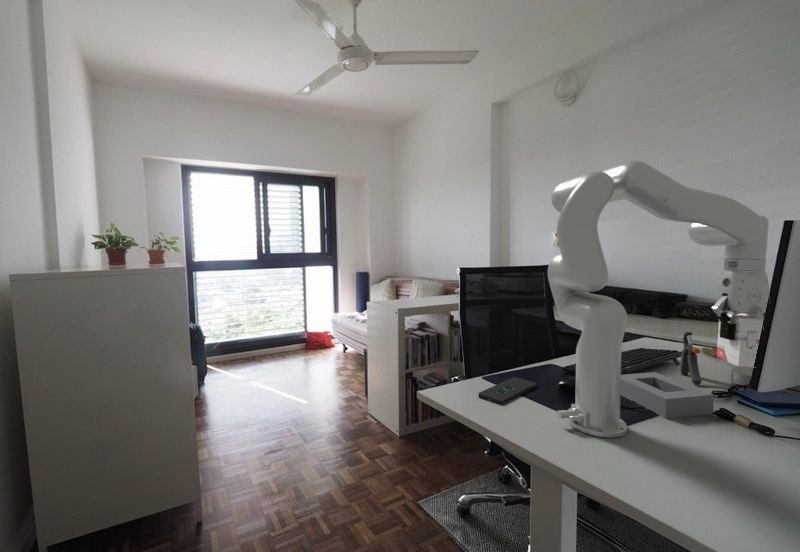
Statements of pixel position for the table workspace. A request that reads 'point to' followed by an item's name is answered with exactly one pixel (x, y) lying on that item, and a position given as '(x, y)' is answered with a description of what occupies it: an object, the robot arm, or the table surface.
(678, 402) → the cartridge dock
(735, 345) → the ink cartridge box
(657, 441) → the table surface
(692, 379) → the hand grip strengthener
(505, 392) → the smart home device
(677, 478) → the table surface
